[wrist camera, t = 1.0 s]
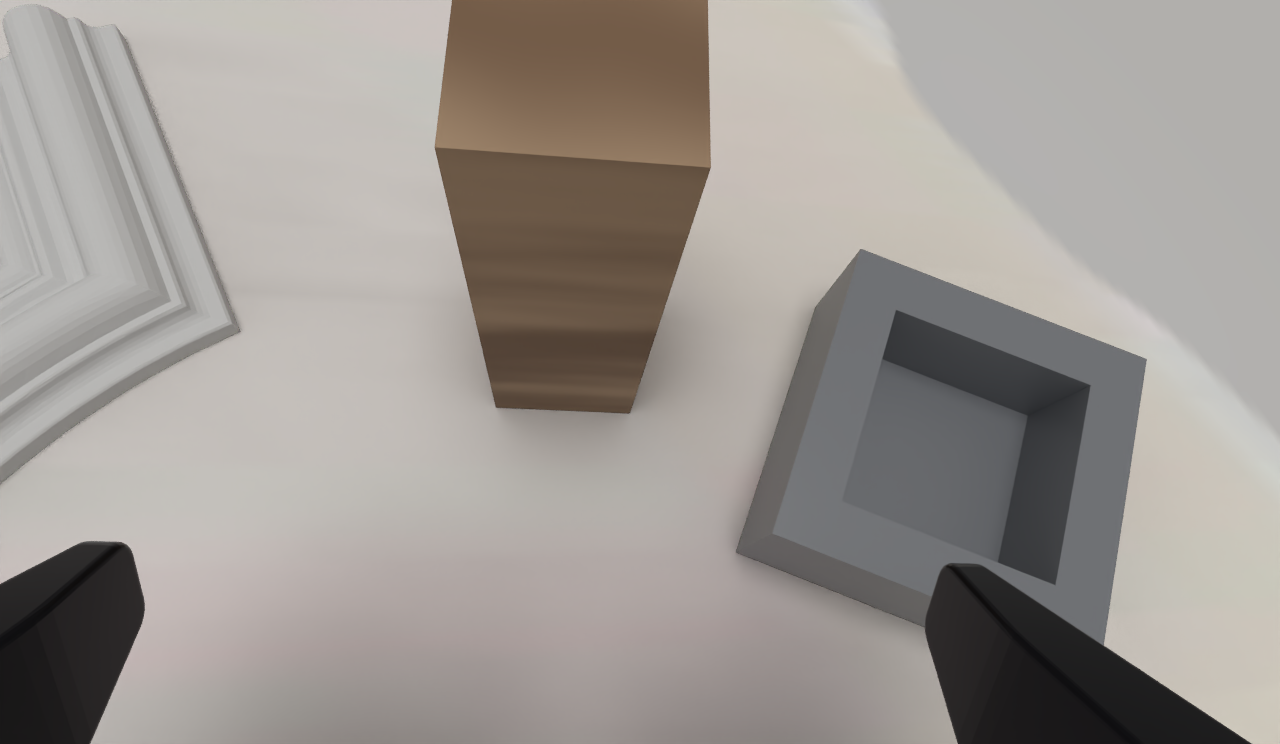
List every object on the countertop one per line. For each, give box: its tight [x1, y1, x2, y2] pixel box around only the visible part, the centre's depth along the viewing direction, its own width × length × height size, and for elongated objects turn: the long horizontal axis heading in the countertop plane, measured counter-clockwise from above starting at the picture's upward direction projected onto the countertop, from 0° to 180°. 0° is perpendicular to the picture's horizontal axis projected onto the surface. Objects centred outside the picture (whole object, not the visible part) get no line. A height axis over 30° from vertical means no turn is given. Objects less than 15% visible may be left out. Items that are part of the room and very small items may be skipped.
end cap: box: [736, 249, 1147, 645], centre depth 22 cm, size 8×8×4 cm
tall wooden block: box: [435, 0, 711, 413], centre depth 18 cm, size 4×4×13 cm
